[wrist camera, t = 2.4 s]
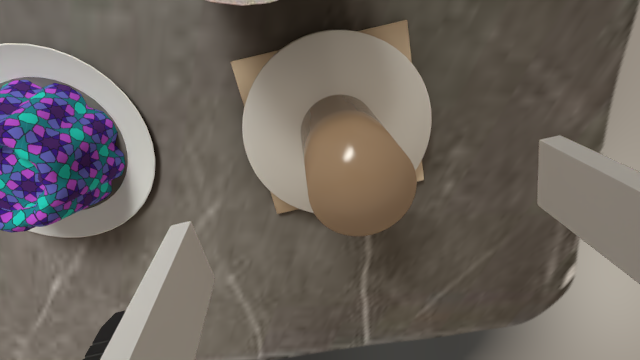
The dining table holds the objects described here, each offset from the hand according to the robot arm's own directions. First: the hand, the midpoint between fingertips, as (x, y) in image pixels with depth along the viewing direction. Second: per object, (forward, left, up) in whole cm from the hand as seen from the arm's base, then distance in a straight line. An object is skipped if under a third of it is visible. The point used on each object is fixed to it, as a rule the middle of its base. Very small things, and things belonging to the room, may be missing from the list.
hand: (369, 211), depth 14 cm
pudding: (-3, -17, -11) cm, 20 cm away
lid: (0, 0, -10) cm, 10 cm away
